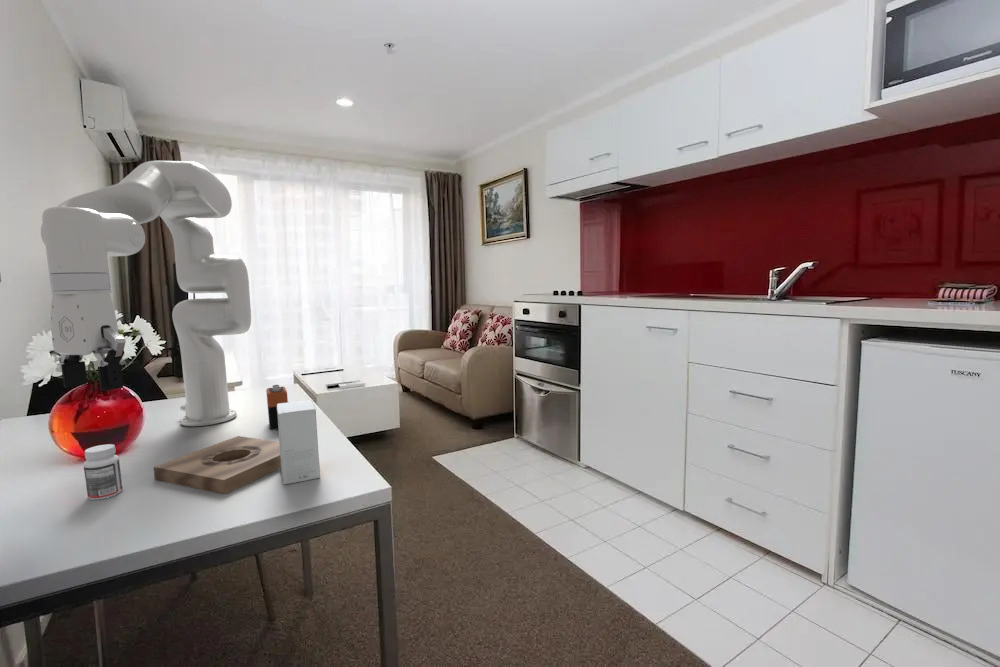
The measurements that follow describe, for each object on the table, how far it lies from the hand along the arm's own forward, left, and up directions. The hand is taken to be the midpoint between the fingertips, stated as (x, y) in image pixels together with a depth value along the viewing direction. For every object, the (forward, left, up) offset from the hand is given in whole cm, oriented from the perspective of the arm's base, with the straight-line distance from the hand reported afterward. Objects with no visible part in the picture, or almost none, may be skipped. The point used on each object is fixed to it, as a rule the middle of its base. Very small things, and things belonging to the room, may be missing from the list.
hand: (93, 387), depth 82 cm
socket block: (+11, +16, -19) cm, 27 cm away
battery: (-2, +40, -19) cm, 44 cm away
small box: (+26, +18, -19) cm, 37 cm away
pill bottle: (0, 0, -19) cm, 19 cm away
